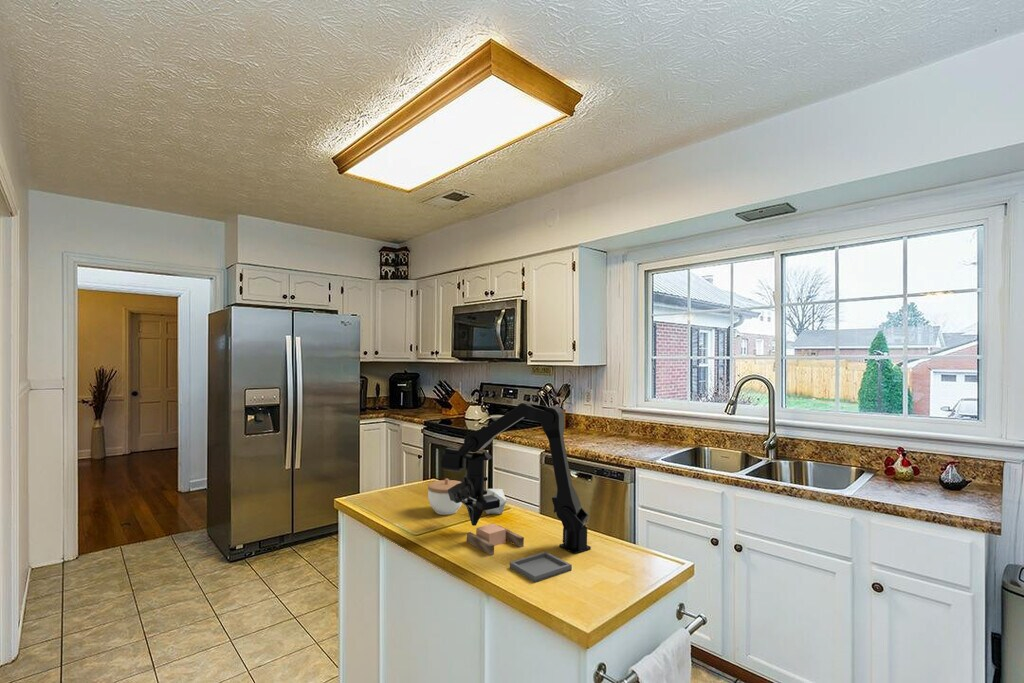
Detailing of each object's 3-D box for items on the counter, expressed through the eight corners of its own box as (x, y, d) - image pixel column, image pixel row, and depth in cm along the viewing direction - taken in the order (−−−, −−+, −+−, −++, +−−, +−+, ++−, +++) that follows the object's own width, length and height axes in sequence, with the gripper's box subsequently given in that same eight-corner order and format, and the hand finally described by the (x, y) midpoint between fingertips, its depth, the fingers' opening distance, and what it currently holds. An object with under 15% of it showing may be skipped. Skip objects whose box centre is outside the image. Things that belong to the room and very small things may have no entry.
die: (497, 520, 165) (512, 494, 168) (475, 505, 167) (491, 480, 170) (497, 521, 173) (512, 497, 176) (476, 507, 174) (491, 483, 177)
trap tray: (571, 570, 127) (571, 564, 127) (534, 582, 120) (535, 576, 120) (545, 556, 135) (545, 551, 135) (509, 567, 128) (509, 562, 128)
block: (505, 543, 144) (505, 529, 145) (489, 548, 141) (489, 533, 141) (492, 537, 149) (492, 523, 149) (476, 541, 145) (476, 527, 145)
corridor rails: (523, 546, 142) (523, 537, 142) (490, 555, 135) (490, 546, 135) (498, 533, 151) (498, 525, 151) (466, 541, 145) (466, 532, 145)
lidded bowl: (451, 519, 163) (452, 485, 163) (419, 513, 168) (420, 480, 169) (471, 509, 174) (472, 477, 174) (440, 503, 180) (441, 472, 180)
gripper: (436, 470, 155) (435, 521, 155) (469, 483, 140) (467, 540, 140) (467, 466, 162) (466, 515, 161) (501, 478, 147) (500, 532, 146)
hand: (474, 525), depth 152 cm, fingers closed
